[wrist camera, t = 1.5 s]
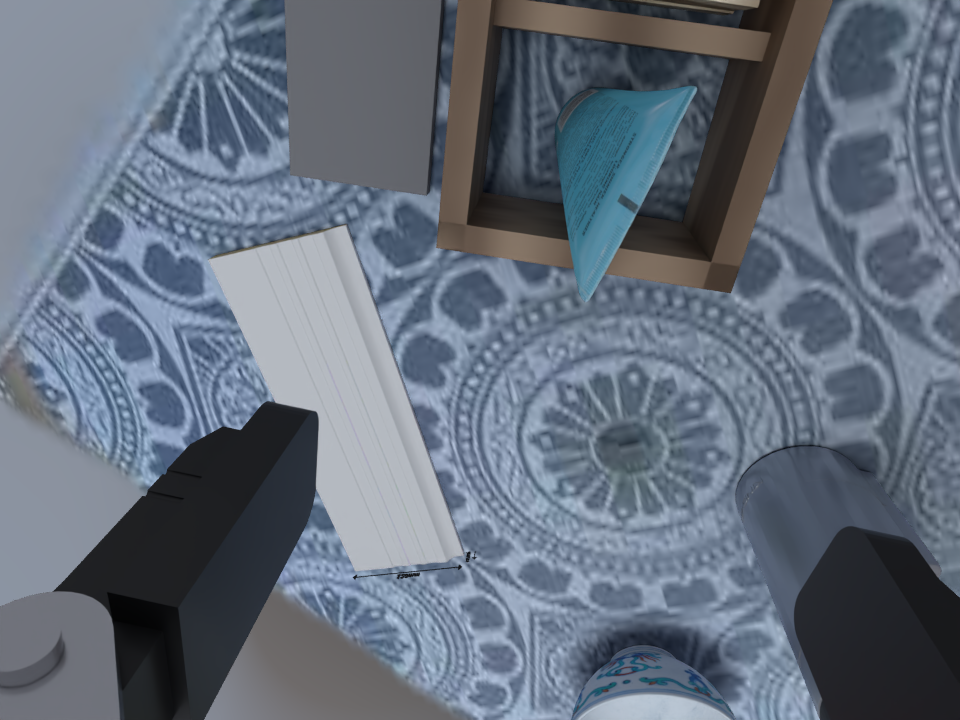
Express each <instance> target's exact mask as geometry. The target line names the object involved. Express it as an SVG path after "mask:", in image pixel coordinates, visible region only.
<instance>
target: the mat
mask: <svg viewBox="0 0 960 720" xmlns="http://www.w3.org/2000/svg"><path fill="white" fill-rule="evenodd" d="M443 13H444V0H285V27H286V57H287V88H288V118H289V149H290V175H293V176H299V177H306V178H313V179H319V180H326V181H333V182H339V183H346V184H353V185H359V186H366V187H373V188H379V189H386V190H393V191H399V192H406V193H413V194H419V195H426V196H427V194H428V193H429V191H430V178H431V166H432V153H433V140H434V127H435V115H436V102H437V89H438V77H439V64H440V51H441V38H442V26H443Z"/></svg>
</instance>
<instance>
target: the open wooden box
mask: <svg viewBox="0 0 960 720" xmlns="http://www.w3.org/2000/svg"><path fill="white" fill-rule="evenodd" d="M832 2H833V0H760V2H759V6H758V8H753V9H747V10H744V11H743V15H742V18H741V22H740V25H739V29H737V28H730V27H722V26H715V25H707V24H700V23H692V22H685V21H678V20H670V19H663V18H655V17H648V16H641V15H633V14H626V13H618V12H611V11H603V10H596V9H589V8H581V7H574V6H566V5H559V4H551V3H544V2H537V1H529V0H458V8H457V20H456V31H455V42H454V54H453V65H452V76H451V88H450V99H449V110H448V122H447V133H446V144H445V156H444V167H443V178H442V190H441V201H440V213H439V224H438V235H437V247H436V248H441V249H447V250H454V251H460V252H467V253H473V254H480V255H486V256H493V257H499V258H506V259H512V260H519V261H525V262H532V263H538V264H545V265H551V266H558V267H564V268H571V269H574V266H573V261H572V255H571V250H570V244H569V238H568V231H567V225H566V218H565V211H564V204H557V203H551V202H544V201H537V200H531V199H524V198H517V197H510V196H504V195H497V194H490V193H484V192H483V187H484V179H485V170H486V162H487V154H488V146H489V137H490V129H491V121H492V113H493V105H494V96H495V88H496V80H497V72H498V63H499V55H500V47H501V39H502V30H503V28H506V29H513V30H521V31H528V32H535V33H542V34H550V35H557V36H564V37H572V38H579V39H586V40H593V41H601V42H608V43H615V44H623V45H630V46H637V47H645V48H652V49H659V50H666V51H674V52H681V53H688V54H696V55H703V56H710V57H718V58H725V59H730V60H729V63H728V67H727V70H726V74H725V77H724V81H723V84H722V88H721V91H720V94H719V98H718V101H717V105H716V108H715V112H714V115H713V119H712V122H711V126H710V129H709V133H708V136H707V139H706V143H705V146H704V150H703V153H702V157H701V160H700V164H699V167H698V171H697V174H696V178H695V181H694V184H693V188H692V191H691V195H690V198H689V202H688V205H687V209H686V212H685V216H684V219H683V222H678V221H671V220H665V219H658V218H651V217H644V216H638V215H636V216H635V218H634V220H633V222H632V224H631V226H630V227H629V229H628V231H627V233H626V235H625V237H624V239H623V241H622V243H621V245H620V246H619V248H618V250H617V252H616V254H615V256H614V258H613V259H612V261H611V263H610V265H609V267H608V269H607V271H606V272H605V274H610V275H616V276H623V277H629V278H636V279H642V280H649V281H655V282H662V283H668V284H675V285H681V286H688V287H694V288H701V289H707V290H714V291H720V292H727V293H731V291H732V288H733V285H734V283H735V280H736V277H737V274H738V271H739V268H740V265H741V263H742V260H743V257H744V254H745V251H746V248H747V245H748V242H749V240H750V237H751V234H752V231H753V228H754V225H755V222H756V220H757V217H758V214H759V211H760V208H761V205H762V202H763V199H764V197H765V194H766V191H767V188H768V185H769V182H770V179H771V177H772V174H773V171H774V168H775V165H776V162H777V159H778V157H779V154H780V151H781V148H782V145H783V142H784V139H785V136H786V134H787V131H788V128H789V125H790V122H791V119H792V116H793V114H794V111H795V108H796V105H797V102H798V99H799V96H800V94H801V91H802V88H803V85H804V82H805V79H806V76H807V73H808V71H809V68H810V65H811V62H812V59H813V56H814V53H815V51H816V48H817V45H818V42H819V39H820V36H821V33H822V31H823V28H824V25H825V22H826V19H827V16H828V13H829V10H830V8H831V5H832Z"/></svg>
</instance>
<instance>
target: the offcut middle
mask: <svg viewBox="0 0 960 720" xmlns="http://www.w3.org/2000/svg"><path fill="white" fill-rule="evenodd" d="M655 1H662V2H670V3H677V4H684V5H691V6H698V7H706V8H713V9H720V10H727V11H735V10H738V9H731V8H725V7H718V6H712V5H705V4H699V3H692V2H686V1H679V0H655Z"/></svg>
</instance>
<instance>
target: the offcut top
mask: <svg viewBox="0 0 960 720" xmlns="http://www.w3.org/2000/svg"><path fill="white" fill-rule="evenodd" d="M679 1H686V2H692V3H699V4H705V5H712V6H718V7H725V8H731V9H738V10H747V9H753V8H758V6H759V2H760V0H679Z"/></svg>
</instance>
